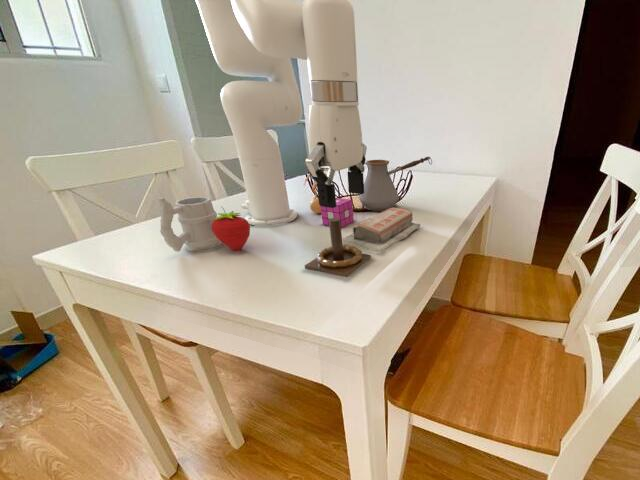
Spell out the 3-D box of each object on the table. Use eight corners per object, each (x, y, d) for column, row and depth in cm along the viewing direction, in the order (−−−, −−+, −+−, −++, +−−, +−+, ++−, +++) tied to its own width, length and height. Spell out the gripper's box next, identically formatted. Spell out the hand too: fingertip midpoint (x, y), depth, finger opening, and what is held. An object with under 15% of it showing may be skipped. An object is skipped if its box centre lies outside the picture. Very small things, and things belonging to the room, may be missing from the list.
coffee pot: (352, 210, 97) (348, 155, 90) (370, 200, 107) (368, 149, 100) (423, 219, 91) (424, 160, 83) (436, 207, 100) (438, 153, 93)
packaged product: (385, 203, 86) (420, 209, 82) (385, 222, 88) (420, 228, 84) (340, 224, 72) (380, 232, 68) (342, 245, 74) (381, 254, 70)
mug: (234, 241, 76) (219, 187, 70) (185, 263, 67) (164, 202, 61) (208, 237, 79) (193, 184, 73) (158, 256, 69) (136, 197, 63)
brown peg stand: (305, 271, 64) (297, 223, 59) (332, 253, 71) (328, 209, 67) (346, 280, 61) (341, 230, 56) (371, 260, 68) (368, 215, 63)
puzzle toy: (336, 218, 91) (333, 197, 88) (354, 221, 89) (352, 199, 86) (322, 224, 86) (319, 202, 84) (341, 228, 84) (339, 205, 82)
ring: (308, 264, 64) (307, 258, 63) (333, 247, 70) (333, 242, 70) (347, 271, 61) (346, 265, 60) (369, 254, 68) (369, 248, 67)
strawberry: (244, 259, 68) (232, 210, 63) (211, 256, 69) (197, 208, 65) (261, 248, 73) (251, 202, 68) (230, 245, 74) (218, 200, 70)
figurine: (301, 214, 94) (294, 169, 89) (312, 208, 99) (306, 165, 94) (328, 216, 92) (323, 170, 87) (338, 210, 97) (334, 166, 92)
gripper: (343, 94, 63) (350, 186, 72) (279, 94, 49) (296, 209, 58) (380, 95, 61) (382, 191, 69) (322, 96, 47) (333, 216, 55)
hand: (343, 199), depth 63 cm, fingers open, 9 cm apart
